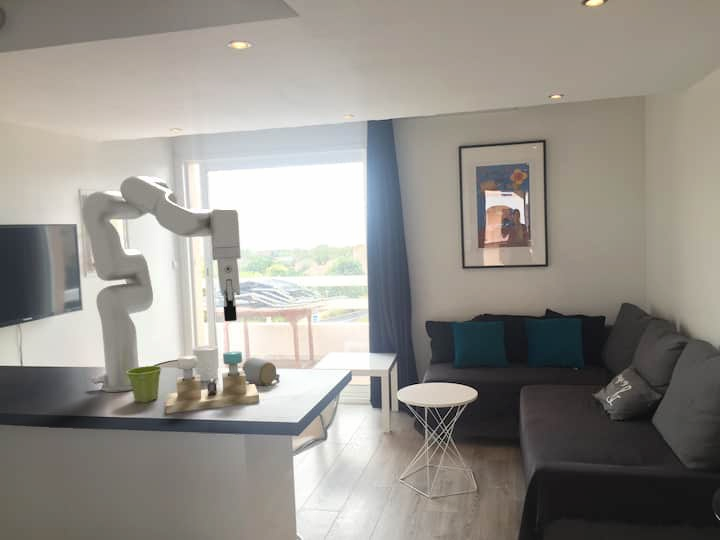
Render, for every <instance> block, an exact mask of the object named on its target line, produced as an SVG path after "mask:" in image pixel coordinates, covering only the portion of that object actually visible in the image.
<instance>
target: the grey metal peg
mask: <svg viewBox="0 0 720 540" xmlns="http://www.w3.org/2000/svg"><path fill="white" fill-rule="evenodd" d="M215 381H216V379H210V380H209V381H208V383H206V384H207V386H206V387H207V388H206V389H208V395H209V396H212V395H216V394H217V388H218V387H217V382H215Z"/></svg>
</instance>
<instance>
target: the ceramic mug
mask: <svg viewBox="0 0 720 540" xmlns="http://www.w3.org/2000/svg"><path fill="white" fill-rule="evenodd" d="M243 370H244V372H245V375H246V383H249V384H250V383H251V384H255V385H261V386H269V385H271V384H272V383H273V382H274V380H277V379H278V380H279V379H280V377H281V375H280V374H278V373H277V367H276V366H275V364H274V363H272V362H271V361H268V360H266V359H262V358H258V357H250V358H248V359H247V360H245V362H244V363H243V366H242V370H241V371H243ZM268 384H269V385H268Z"/></svg>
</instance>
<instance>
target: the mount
mask: <svg viewBox="0 0 720 540" xmlns="http://www.w3.org/2000/svg"><path fill="white" fill-rule="evenodd" d="M221 375H222V376H221V379H222V387H217V394H216V395H212V396H209V395H208V388H206V389H201V388H202V387H201V381H200V375H196V374H195V375H193V380H187V381H184V376H180V377H177V378H176V392H172V393H167V395H166V400H165V414H172V413H182V412H191V411H197V410H205V409H213V408H222V407H230V406H231V407H232V406H238V405H245V404H246V403H248V404H254V403H253V402H256V403H260V395H259V392H258V389H257V387H256V384H254V383H251V384H250V383H249V384H247V382H246V375H245V372H244V370H243V371H242V370H238V375H233V376H229V371H226V372H222V373H221Z"/></svg>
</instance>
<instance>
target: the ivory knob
mask: <svg viewBox="0 0 720 540" xmlns="http://www.w3.org/2000/svg"><path fill="white" fill-rule="evenodd" d="M195 367H197V357H196V356H193V355H185V356H179V357H178V358H177V369H178V370H183V371H182V372H183V377H184V381H187V380H193V376H194V372H193V371H194V369H195Z"/></svg>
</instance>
